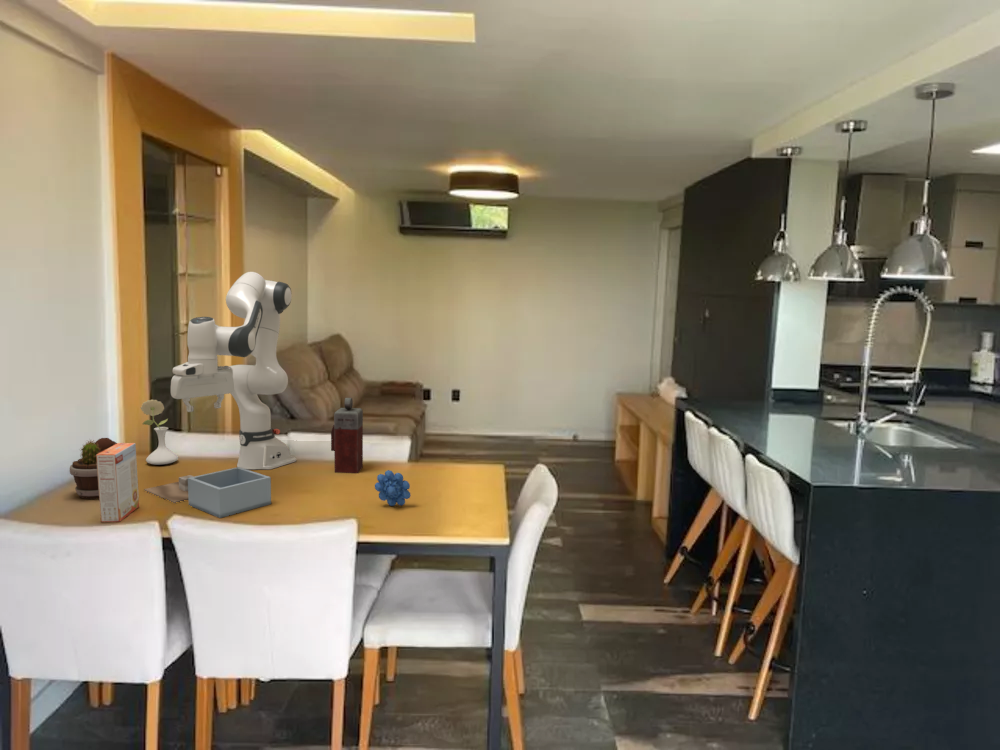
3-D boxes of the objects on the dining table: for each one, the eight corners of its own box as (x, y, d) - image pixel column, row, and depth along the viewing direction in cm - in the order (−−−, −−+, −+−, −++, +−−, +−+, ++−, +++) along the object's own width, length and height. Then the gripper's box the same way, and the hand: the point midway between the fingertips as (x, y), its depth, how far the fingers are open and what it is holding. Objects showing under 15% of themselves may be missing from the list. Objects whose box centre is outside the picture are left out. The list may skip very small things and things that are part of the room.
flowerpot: (84, 488, 239) (81, 430, 237) (130, 488, 240) (128, 431, 238) (60, 501, 225) (56, 440, 222) (110, 501, 226) (106, 441, 223)
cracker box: (120, 507, 221) (116, 442, 218) (140, 507, 222) (137, 442, 219) (98, 522, 207) (94, 453, 204) (120, 522, 208) (116, 453, 205)
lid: (199, 480, 254) (199, 466, 253) (231, 491, 242) (230, 476, 241) (144, 492, 238) (143, 477, 237) (174, 505, 226) (174, 489, 225)
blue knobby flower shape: (372, 510, 225) (372, 473, 223) (375, 503, 232) (375, 467, 230) (409, 510, 225) (409, 474, 224) (411, 503, 232) (411, 468, 230)
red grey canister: (334, 466, 275) (333, 395, 271) (362, 466, 275) (362, 396, 271) (328, 472, 266) (327, 399, 262) (357, 473, 266) (357, 400, 262)
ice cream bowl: (122, 481, 247) (120, 440, 245) (87, 483, 244) (84, 441, 242) (130, 473, 257) (128, 433, 255) (96, 474, 255) (94, 434, 253)
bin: (239, 492, 239) (238, 466, 237) (271, 504, 228) (270, 477, 227) (188, 505, 225) (187, 478, 223) (220, 518, 214) (219, 489, 213)
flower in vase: (183, 459, 278) (181, 397, 275) (171, 467, 267) (169, 402, 264) (149, 459, 278) (146, 396, 274) (136, 466, 266) (133, 401, 263)
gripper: (227, 364, 237) (228, 404, 239) (167, 368, 221) (168, 412, 223) (237, 366, 233) (238, 407, 235) (177, 370, 217) (178, 414, 219)
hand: (204, 409), depth 229 cm, fingers open, 8 cm apart
